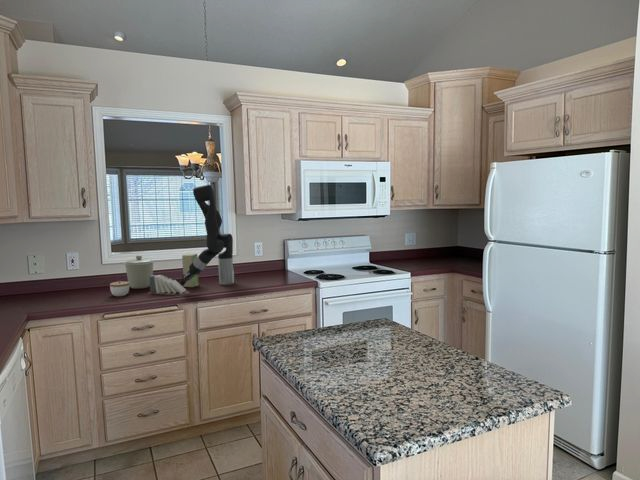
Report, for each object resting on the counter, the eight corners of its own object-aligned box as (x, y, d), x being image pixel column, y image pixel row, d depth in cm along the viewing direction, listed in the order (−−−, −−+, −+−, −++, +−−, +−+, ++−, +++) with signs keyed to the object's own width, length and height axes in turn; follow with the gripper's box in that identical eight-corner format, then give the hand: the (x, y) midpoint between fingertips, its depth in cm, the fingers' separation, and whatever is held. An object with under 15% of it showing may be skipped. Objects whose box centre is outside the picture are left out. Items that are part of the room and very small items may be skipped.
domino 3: (169, 290, 275) (163, 275, 275) (164, 292, 270) (158, 276, 270) (167, 291, 275) (161, 276, 275) (162, 293, 270) (156, 277, 270)
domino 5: (181, 290, 273) (170, 278, 274) (176, 292, 268) (165, 279, 269) (179, 292, 273) (168, 279, 274) (174, 293, 268) (163, 281, 269)
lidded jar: (111, 298, 261) (109, 282, 260) (110, 295, 271) (109, 279, 270) (131, 296, 266) (130, 280, 265) (129, 293, 276) (128, 277, 274)
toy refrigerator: (194, 288, 286) (192, 255, 284) (183, 287, 288) (181, 255, 286) (199, 285, 294) (198, 253, 292) (189, 285, 296) (187, 253, 293)
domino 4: (175, 290, 274) (166, 276, 274) (170, 292, 269) (161, 278, 269) (173, 291, 274) (164, 277, 275) (168, 293, 269) (159, 279, 270)
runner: (190, 292, 273) (190, 291, 273) (182, 296, 265) (182, 295, 265) (156, 291, 280) (156, 290, 279) (147, 294, 271) (147, 293, 271)
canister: (122, 291, 281) (120, 257, 278) (128, 285, 298) (126, 253, 296) (153, 289, 284) (151, 256, 282) (157, 283, 302) (155, 252, 299)
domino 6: (186, 290, 272) (174, 279, 273) (182, 292, 267) (170, 281, 268) (185, 292, 272) (173, 281, 273) (180, 294, 267) (168, 283, 269)
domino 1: (157, 290, 277) (156, 274, 276) (152, 292, 272) (151, 276, 271) (155, 290, 277) (154, 274, 276) (150, 292, 273) (149, 276, 271)
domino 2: (163, 291, 276) (161, 274, 275) (158, 292, 271) (156, 276, 270) (161, 291, 276) (159, 275, 275) (156, 292, 272) (154, 276, 271)
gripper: (200, 258, 271) (183, 277, 276) (188, 262, 259) (170, 282, 263) (208, 267, 271) (191, 286, 275) (197, 271, 258) (179, 291, 262)
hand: (181, 284), depth 269 cm, fingers closed
